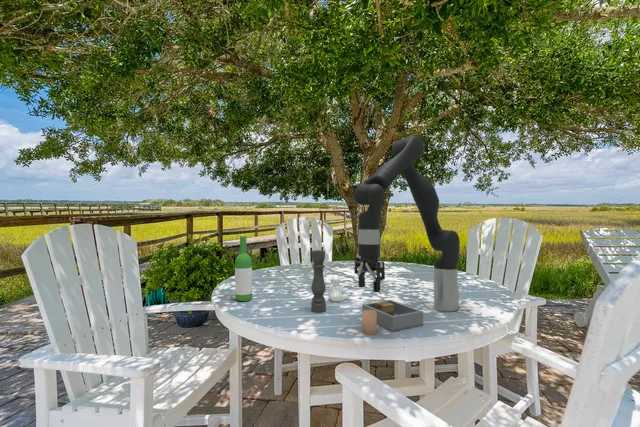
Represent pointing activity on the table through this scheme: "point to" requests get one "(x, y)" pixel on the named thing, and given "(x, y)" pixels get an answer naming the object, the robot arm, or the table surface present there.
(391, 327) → the grey tote
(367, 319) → the tan cylinder
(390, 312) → the walnut cube
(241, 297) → the wine bottle
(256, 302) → the table surface
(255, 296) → the table surface
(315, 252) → the candle holder
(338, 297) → the white creature statuette
